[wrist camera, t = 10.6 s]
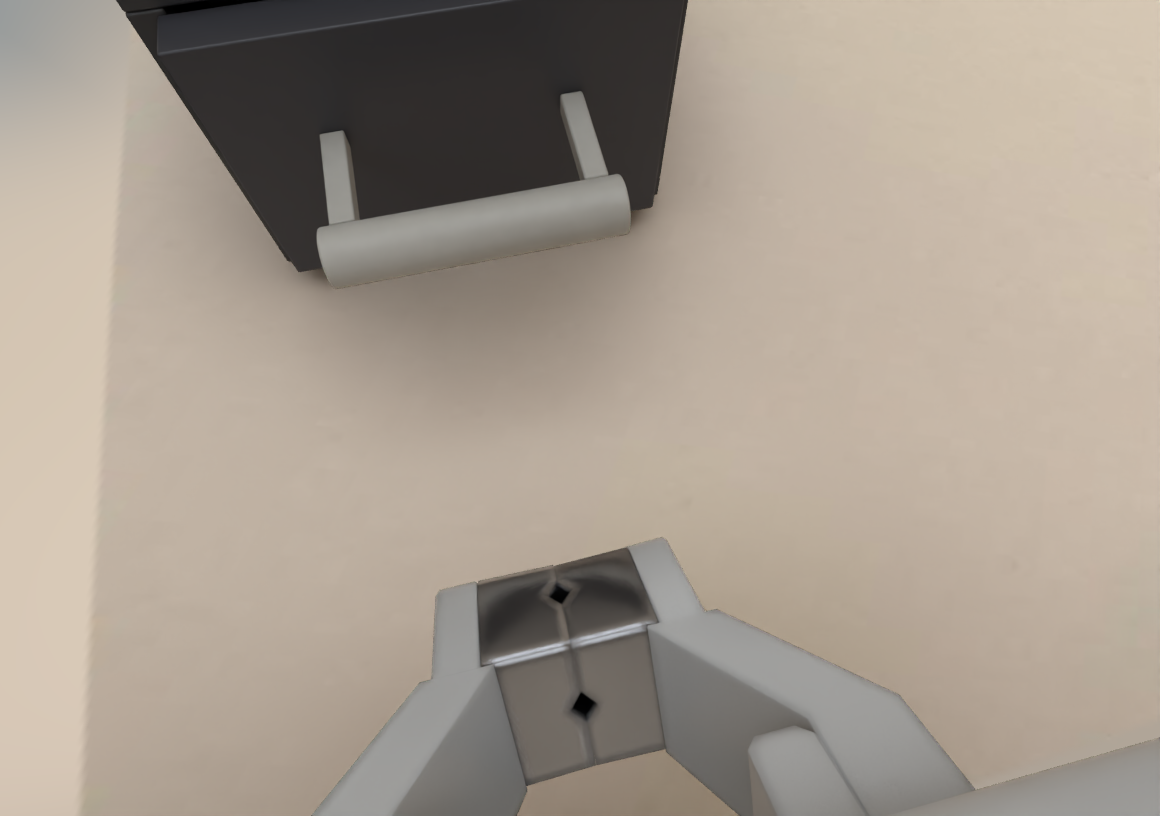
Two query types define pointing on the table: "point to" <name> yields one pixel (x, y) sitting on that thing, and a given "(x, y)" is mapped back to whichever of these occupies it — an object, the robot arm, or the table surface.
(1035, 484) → the table surface
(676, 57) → the cabinet
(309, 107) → the drawer
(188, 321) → the table surface
